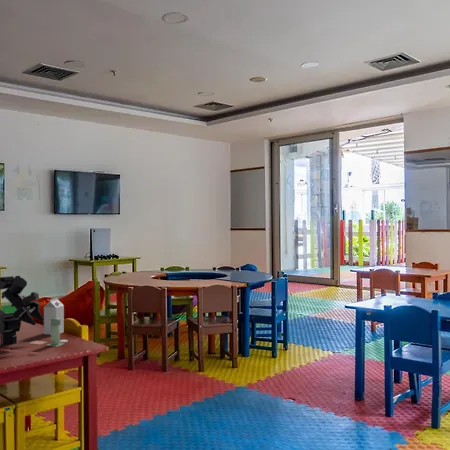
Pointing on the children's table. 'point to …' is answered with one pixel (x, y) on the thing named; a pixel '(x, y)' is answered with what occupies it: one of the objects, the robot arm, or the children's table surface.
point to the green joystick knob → (55, 331)
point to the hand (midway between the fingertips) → (39, 322)
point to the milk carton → (53, 315)
